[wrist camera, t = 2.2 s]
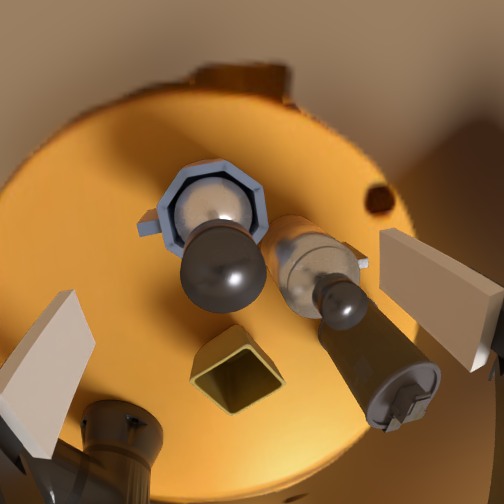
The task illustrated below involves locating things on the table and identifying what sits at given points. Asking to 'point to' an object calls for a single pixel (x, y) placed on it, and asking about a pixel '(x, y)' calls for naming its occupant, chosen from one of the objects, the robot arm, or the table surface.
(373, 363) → the canister
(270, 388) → the flower pot
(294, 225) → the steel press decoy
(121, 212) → the table surface
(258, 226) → the blue mug
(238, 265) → the plunger
